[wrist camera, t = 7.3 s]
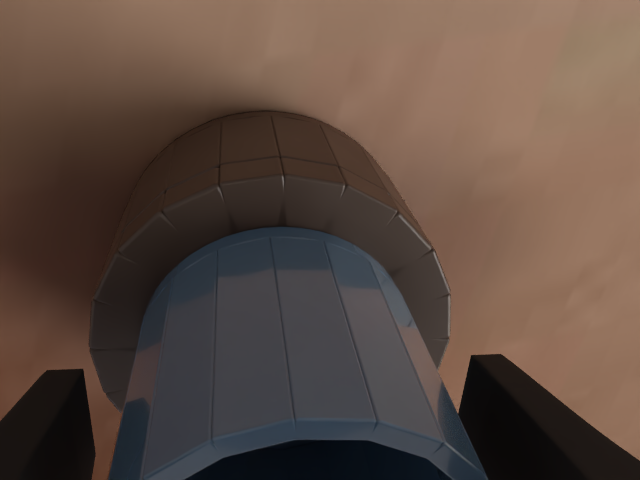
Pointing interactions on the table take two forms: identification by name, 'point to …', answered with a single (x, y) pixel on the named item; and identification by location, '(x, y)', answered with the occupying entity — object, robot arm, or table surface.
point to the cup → (285, 371)
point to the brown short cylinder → (257, 222)
